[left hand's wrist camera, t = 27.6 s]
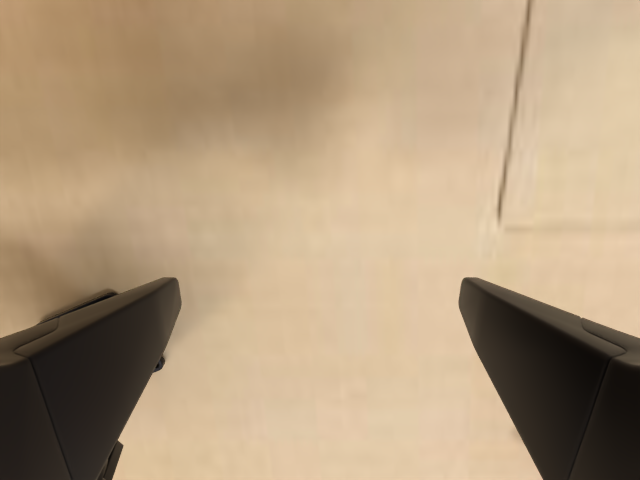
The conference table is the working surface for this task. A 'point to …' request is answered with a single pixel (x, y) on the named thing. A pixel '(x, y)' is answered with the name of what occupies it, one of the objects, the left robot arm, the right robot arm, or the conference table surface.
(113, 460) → the left robot arm
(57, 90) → the conference table surface
